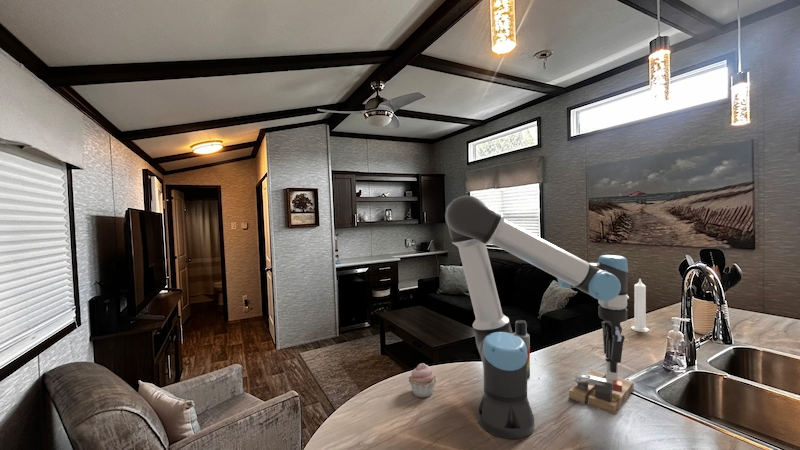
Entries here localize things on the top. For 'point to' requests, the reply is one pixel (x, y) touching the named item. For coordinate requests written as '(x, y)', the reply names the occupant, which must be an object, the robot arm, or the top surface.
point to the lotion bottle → (522, 333)
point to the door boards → (602, 393)
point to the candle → (640, 308)
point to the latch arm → (592, 380)
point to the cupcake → (422, 381)
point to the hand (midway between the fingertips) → (611, 380)
